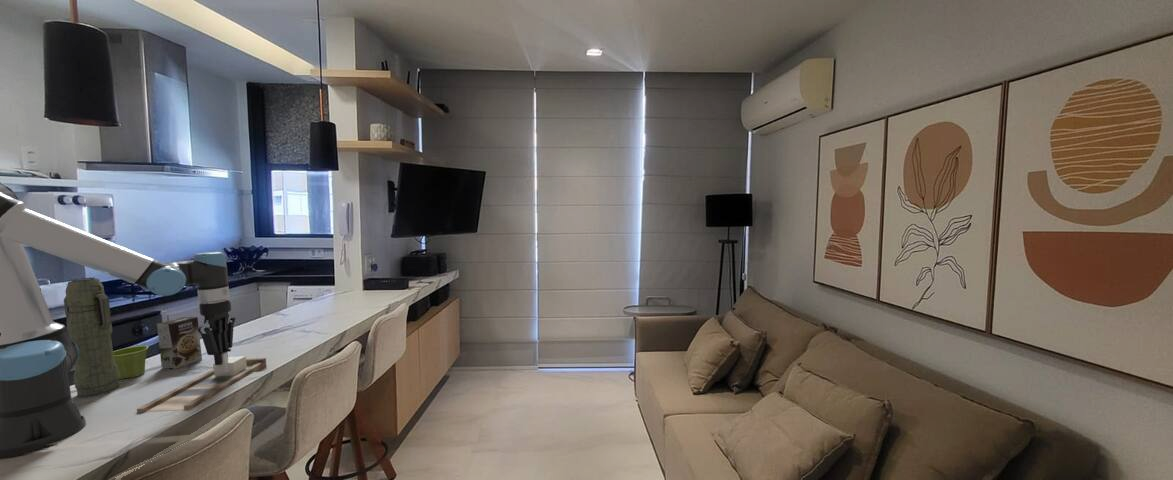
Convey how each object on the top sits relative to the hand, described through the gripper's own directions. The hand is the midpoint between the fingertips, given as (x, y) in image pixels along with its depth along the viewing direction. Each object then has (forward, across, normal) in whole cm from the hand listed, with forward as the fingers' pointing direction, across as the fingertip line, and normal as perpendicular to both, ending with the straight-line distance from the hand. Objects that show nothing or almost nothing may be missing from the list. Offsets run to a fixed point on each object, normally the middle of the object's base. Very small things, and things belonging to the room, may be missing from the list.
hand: (222, 373), depth 140 cm
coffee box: (+3, +19, +26) cm, 32 cm away
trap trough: (+3, -6, 0) cm, 7 cm away
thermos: (+3, -2, +34) cm, 34 cm away
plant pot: (+3, +10, +35) cm, 37 cm away
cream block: (+2, +4, 0) cm, 4 cm away
